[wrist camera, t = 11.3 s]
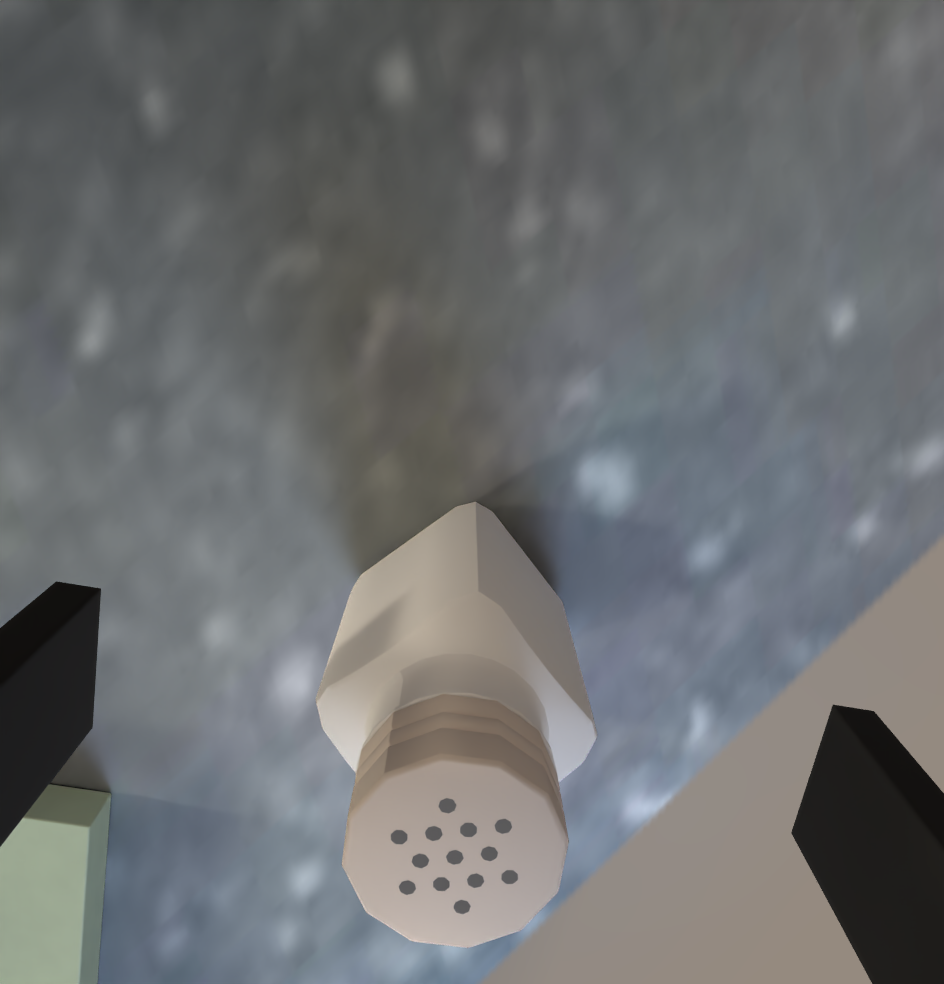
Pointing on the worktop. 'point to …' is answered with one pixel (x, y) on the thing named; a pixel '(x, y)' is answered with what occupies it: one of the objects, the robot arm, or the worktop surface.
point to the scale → (54, 889)
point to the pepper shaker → (456, 732)
